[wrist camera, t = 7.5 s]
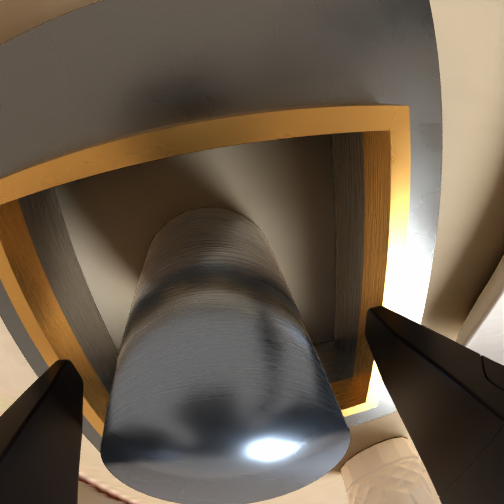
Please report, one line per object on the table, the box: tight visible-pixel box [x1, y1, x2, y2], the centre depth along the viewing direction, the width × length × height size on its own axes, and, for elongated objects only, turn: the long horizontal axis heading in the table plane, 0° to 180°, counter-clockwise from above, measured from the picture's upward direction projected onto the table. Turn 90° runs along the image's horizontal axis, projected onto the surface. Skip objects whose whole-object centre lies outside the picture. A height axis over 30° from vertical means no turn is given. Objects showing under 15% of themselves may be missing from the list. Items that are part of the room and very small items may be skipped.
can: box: [100, 208, 351, 504], centre depth 9 cm, size 5×5×8 cm
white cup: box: [341, 437, 441, 504], centre depth 19 cm, size 8×8×10 cm
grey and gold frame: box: [0, 0, 442, 453], centre depth 10 cm, size 16×19×4 cm
